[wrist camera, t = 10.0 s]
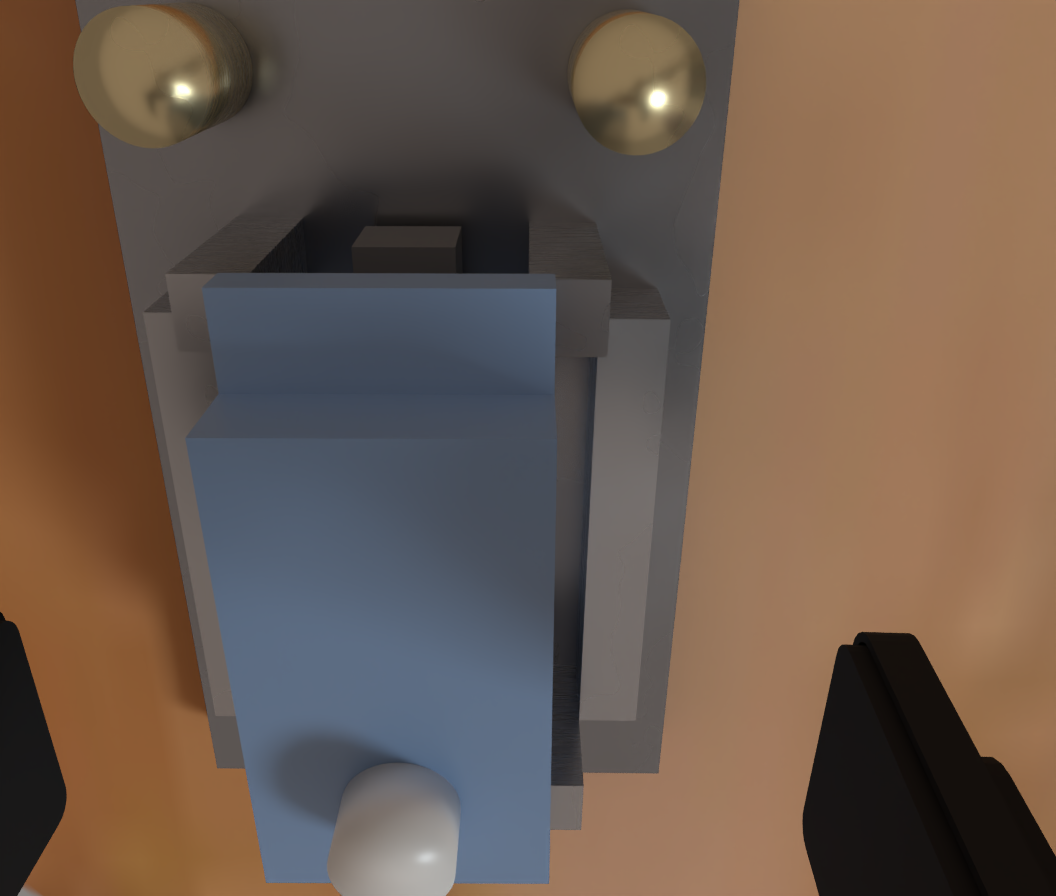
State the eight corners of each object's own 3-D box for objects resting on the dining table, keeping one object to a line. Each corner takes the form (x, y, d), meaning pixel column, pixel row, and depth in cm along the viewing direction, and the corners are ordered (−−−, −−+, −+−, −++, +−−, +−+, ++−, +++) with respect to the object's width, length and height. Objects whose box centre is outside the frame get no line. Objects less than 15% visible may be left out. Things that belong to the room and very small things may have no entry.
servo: (282, 212, 14) (124, 358, 8) (550, 213, 14) (561, 359, 8) (339, 706, 18) (259, 1009, 13) (543, 706, 18) (548, 1010, 13)
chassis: (99, -72, 13) (-71, -92, 9) (728, -61, 13) (806, -78, 10) (233, 725, 20) (165, 898, 16) (651, 730, 20) (679, 903, 16)
